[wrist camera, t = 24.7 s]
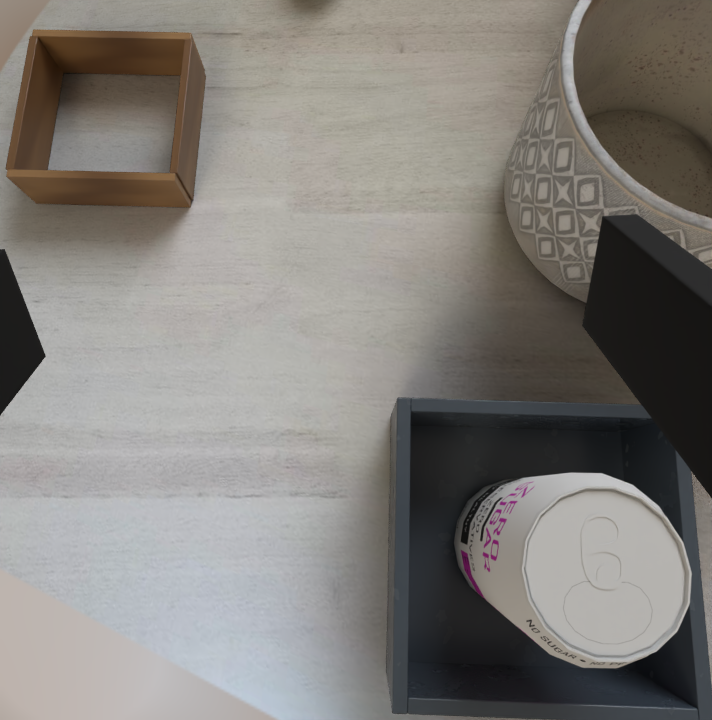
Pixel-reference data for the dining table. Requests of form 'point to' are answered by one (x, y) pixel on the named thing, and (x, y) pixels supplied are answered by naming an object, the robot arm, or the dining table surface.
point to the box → (104, 56)
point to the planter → (616, 136)
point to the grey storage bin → (479, 618)
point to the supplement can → (577, 565)
